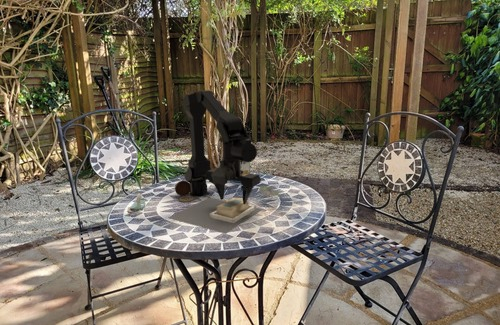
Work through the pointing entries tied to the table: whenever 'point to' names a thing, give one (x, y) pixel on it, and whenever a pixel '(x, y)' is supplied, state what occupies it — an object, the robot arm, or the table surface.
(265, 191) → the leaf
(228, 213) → the slab
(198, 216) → the mat
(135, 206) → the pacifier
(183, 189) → the compass
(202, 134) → the robot arm
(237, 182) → the beverage bottle
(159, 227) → the table surface
